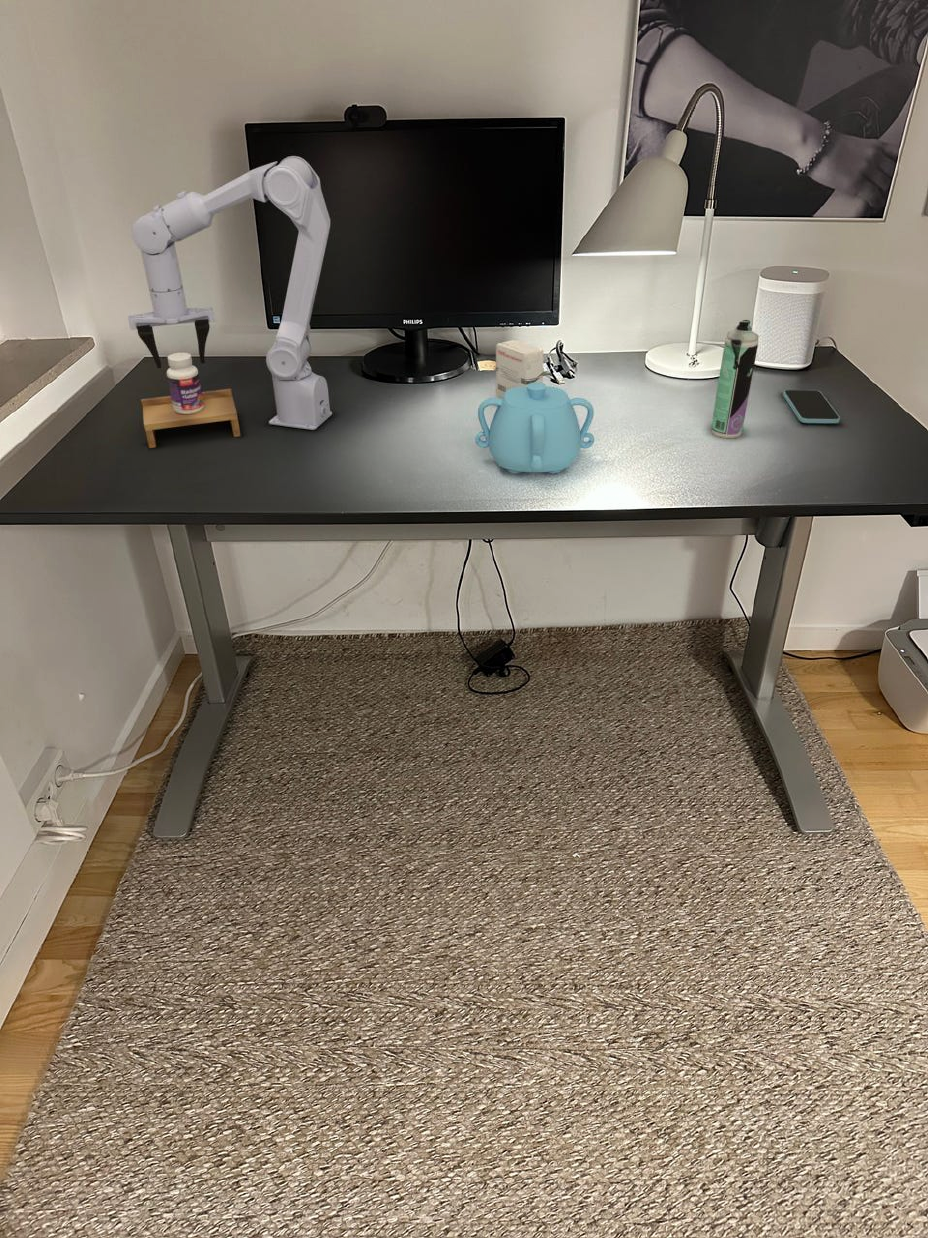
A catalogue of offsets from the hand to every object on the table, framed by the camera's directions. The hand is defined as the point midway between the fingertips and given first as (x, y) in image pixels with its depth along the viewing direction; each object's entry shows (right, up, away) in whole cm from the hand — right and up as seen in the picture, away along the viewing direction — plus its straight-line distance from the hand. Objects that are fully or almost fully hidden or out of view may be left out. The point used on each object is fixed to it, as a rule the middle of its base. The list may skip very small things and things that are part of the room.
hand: (180, 363), depth 165 cm
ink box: (+62, -6, +9) cm, 63 cm away
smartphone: (+117, -7, +6) cm, 118 cm away
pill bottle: (+2, -9, -2) cm, 9 cm away
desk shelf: (+2, -12, +1) cm, 13 cm away
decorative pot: (+64, -20, -11) cm, 67 cm away
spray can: (+99, -13, -2) cm, 100 cm away
